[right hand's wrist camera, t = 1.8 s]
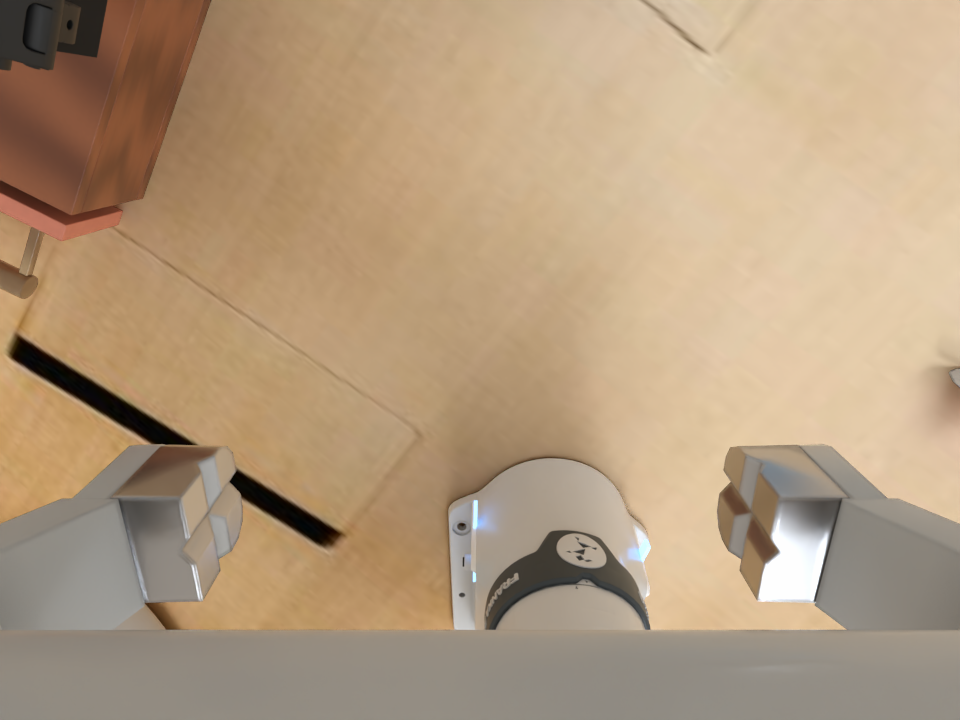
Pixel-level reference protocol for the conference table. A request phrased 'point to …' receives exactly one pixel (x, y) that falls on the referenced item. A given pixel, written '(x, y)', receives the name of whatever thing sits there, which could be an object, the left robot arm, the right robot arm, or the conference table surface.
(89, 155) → the brown open box
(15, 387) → the conference table surface
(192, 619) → the conference table surface
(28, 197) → the drawer
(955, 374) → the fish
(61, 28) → the left robot arm
